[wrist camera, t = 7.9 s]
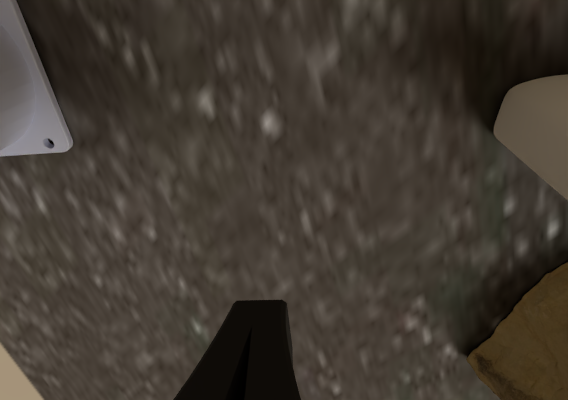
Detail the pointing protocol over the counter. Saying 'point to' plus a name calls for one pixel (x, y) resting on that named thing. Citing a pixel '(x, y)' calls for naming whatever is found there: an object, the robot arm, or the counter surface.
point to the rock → (530, 345)
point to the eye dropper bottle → (538, 127)
